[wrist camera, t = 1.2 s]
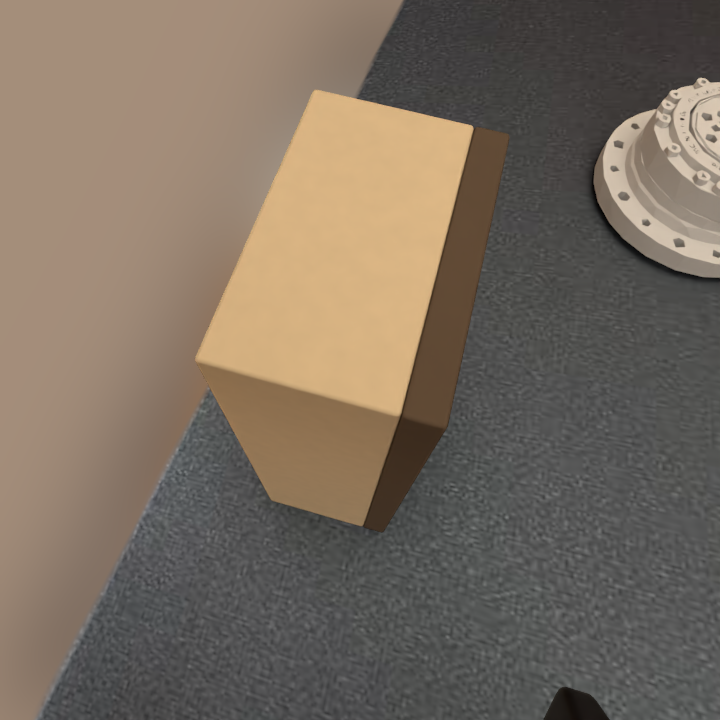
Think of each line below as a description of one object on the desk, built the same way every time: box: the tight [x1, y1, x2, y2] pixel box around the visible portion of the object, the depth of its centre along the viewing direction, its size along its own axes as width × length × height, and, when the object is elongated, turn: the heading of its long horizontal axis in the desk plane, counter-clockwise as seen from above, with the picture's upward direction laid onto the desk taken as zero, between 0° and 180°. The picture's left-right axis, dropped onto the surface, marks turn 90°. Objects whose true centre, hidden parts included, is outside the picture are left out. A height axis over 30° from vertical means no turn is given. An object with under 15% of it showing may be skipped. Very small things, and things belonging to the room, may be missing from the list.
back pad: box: [195, 90, 509, 532], centre depth 17 cm, size 4×7×13 cm, turn 165°
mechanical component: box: [593, 78, 720, 278], centre depth 27 cm, size 10×4×10 cm
